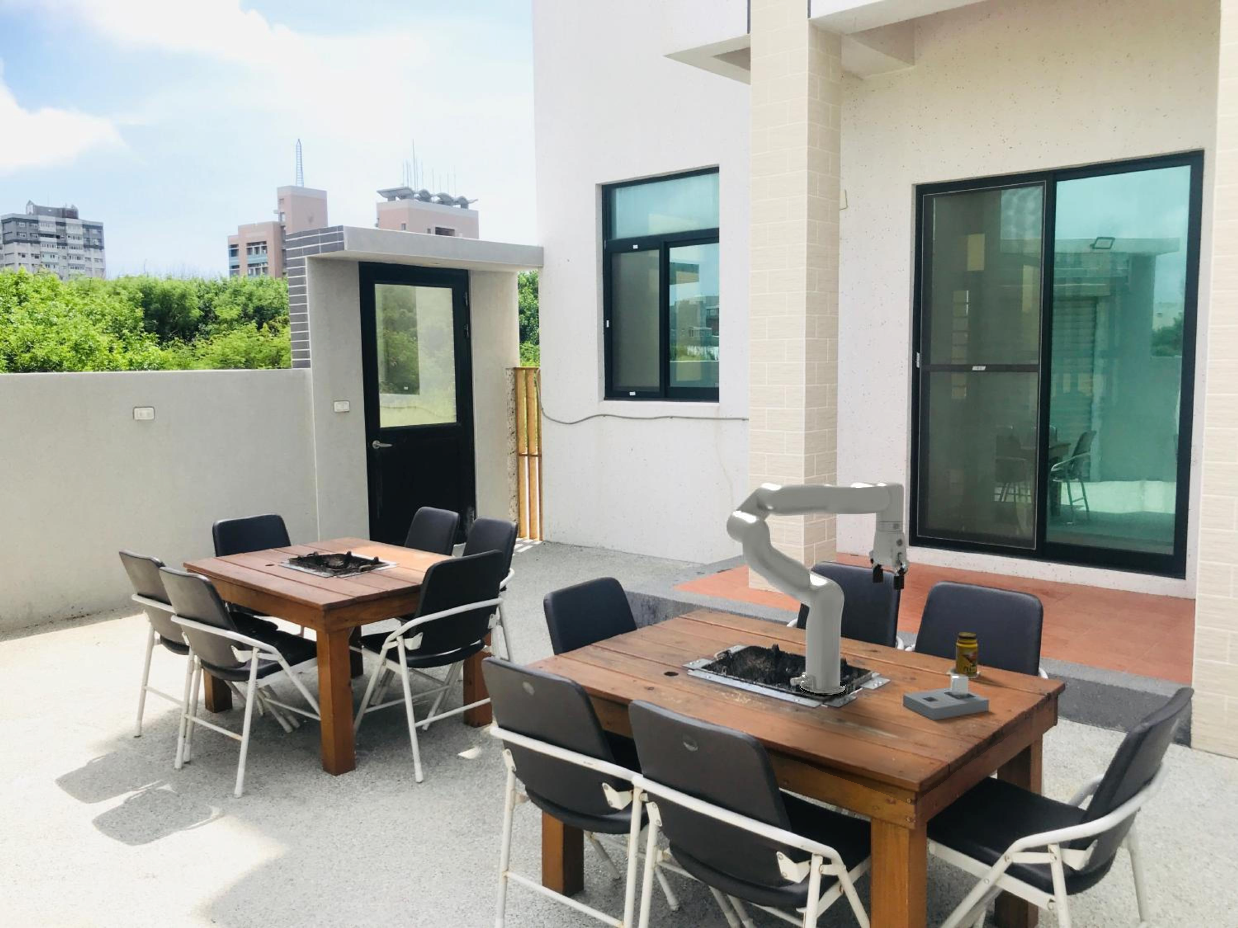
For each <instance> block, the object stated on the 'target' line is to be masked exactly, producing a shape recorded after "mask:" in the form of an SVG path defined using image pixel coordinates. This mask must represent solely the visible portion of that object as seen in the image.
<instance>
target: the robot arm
mask: <svg viewBox="0 0 1238 928" xmlns="http://www.w3.org/2000/svg"><path fill="white" fill-rule="evenodd" d="M904 502H905V487H904V485H903V484H902V483H899V482H893V481H891V482H890V481H889V482H886V481H885V482H880V483H871V482H863V481H862V482H861V481H859V482H855V483H853V484H851V485H850V486H841V485H840V486H839V485H834V484H830V483H829V484H828V483H821V482H820V483H803V484H802V483H799V484H778V483H774V482H766V483H762V484H761V485H759V487H757V488H755V490H754V491H753V492H751V493H750V494H749V496H748V497H746V498H745V499H744V501H743V502H742V503H741V504H740V505H739V506H737V508H736V509H734V510H733V512H731V513H730V515H729V516H728V519H727V521H726V524H725V525H726V532H727V534H728V535H729V537H731V539H733V540H734V541H736V542H737V543H741V545H742V554H743V558H744V561H745V563H746V565H747V567H748V568H750V570H752V571H753V572H754V573H755V574H757V575H759V576H760V577H762V578H763V579H764V580H766V583H768V584H769V585H770V586H771V587H774V588H775V589H776V590H778V591H780V592H781V593H783V594H786V595H787V596H789V597H790V598H792V599H794V600H796V601H798V602H799V603H801V604H803V605H804V606H807V607H808V608H809V610H808V614H807V618H806V624H805V671H803V672H801V675H800V676H799V677H791V678H790V681H789V682H790V685H791V686H795V685H799V687H800V686H801V688H803V689H805V690H807V691H810V692H814V693H836V692H837V693H840V692H843V691H844V690H845V686H846V685H845V686H843V687H842V686H840V682H841V640H842V639H841V634H842V633H841V628H842V627H841V626H842V615H843V609H844V603H845V595H844V591H843V589H842V588H841V586H840V585H839V584H838V583H837V582H836V581H835V580H832V579H831V578H829V577H826V576H823V575H821V574H819V573H816V572H814V571H812V570H810V569H809V568H807V566H806V565H804V564H803V563H802V562H801V561H799V560H797V559H794V558H792V557H790V556H788V555H786V554H784V553H783V552H781V551H780V550H778V548H776V547H774V546H773V545H772V542H771V531H770V527H769V525H768V523H767V522H766V520H767V518H768V517H769V516H770V515H773V516H777V517H791V516H807V515H866V514H867V515H869V514H875V530H874V531H875V532H874V538H873V547H872V550H870V551H868V556H869V559H870V560H869V562H870V564H871V568H872V583H873V584H878V583H883V582H884V568H883V567H887V568H890V569H892V570H893V572H894V575H893V586H892V587H893V590H895V591H899V590H904V589H905V576H906V575H907V572H908V570H909V566H910V563H911V562H910V561H909V560H908V557H907V555H908V553H907V551H908V550H907V541H906V540H907V539H906V535H905V532H904V506H905V503H904ZM801 688H800V689H801ZM839 688H841V689H839ZM845 691H846V690H845ZM843 693H844V692H843Z"/></svg>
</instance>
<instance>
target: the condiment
mask: <svg viewBox="0 0 1238 928" xmlns="http://www.w3.org/2000/svg"><path fill="white" fill-rule="evenodd" d="M977 638H978V637H977V634H976V633H973V632H968V631H965V632H964V631H962V632H959V633H958V634H957V639H956V640H957V641H956V643H955V644H956V645H955V667H954V666H950V668H949V670H948V671H947V672H946V673H945V674H946V675H950V676H951V675H952V674H963V675H966V676H968V679H969V678H970V679H977V678H978V677H979V674H980V673H981V671H980V670H978V655H979V653H978V652H979V651H978V649H979V645H978V643H977V640H978V639H977Z"/></svg>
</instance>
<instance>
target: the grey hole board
mask: <svg viewBox="0 0 1238 928" xmlns="http://www.w3.org/2000/svg"><path fill="white" fill-rule="evenodd" d="M950 694H951V686H950V687H949V686H948V687H943V688H936V689H930V690H923V691H917V692H912V693H911V692H910V693H906V694H905V693H904V694H903V695H902V699H903V700H902V706H903V707H906V708H907V709H909V710H911V711H913V712H916V713H918V714H920V715H921V716H923V717H926V718H927V719H931V720H932V721H935V720H941V719H947V718H955V717H959V716H965V715H970V714H978V713H982V712H987V711H988V712H989V711H990V707H989V706H990V699H989V698H986V697H984V696H982V695H979V694H977V693H975V692H972V691H970V690H968V698H965V699H959V700H958V699H955V698H953V697H951V696H950Z"/></svg>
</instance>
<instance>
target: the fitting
mask: <svg viewBox="0 0 1238 928" xmlns="http://www.w3.org/2000/svg"><path fill="white" fill-rule="evenodd" d="M950 687H951V694H950V696H951V697H953V698H955V699H958V700H959V699H965V698H968V691H969V678H968V676H966V675H963V674H952V675H950Z"/></svg>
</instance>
